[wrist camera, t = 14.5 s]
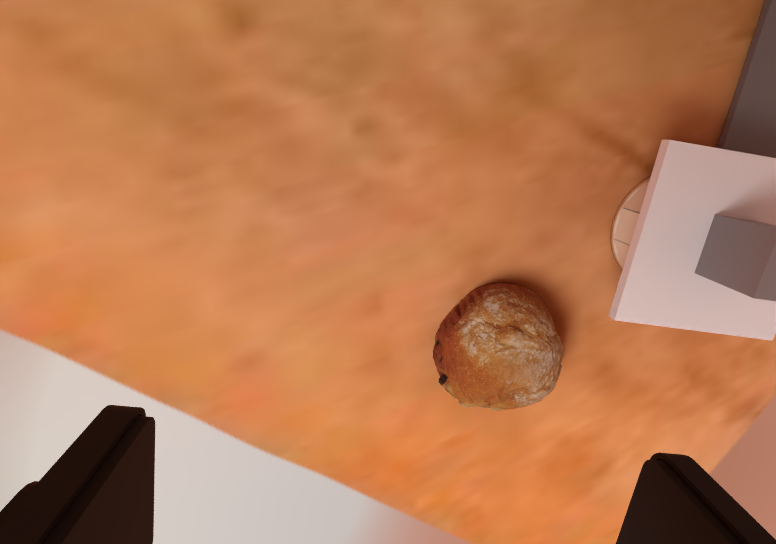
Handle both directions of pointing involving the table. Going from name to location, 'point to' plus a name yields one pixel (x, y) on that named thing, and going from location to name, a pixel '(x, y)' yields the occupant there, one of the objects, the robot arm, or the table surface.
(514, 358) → the bread roll
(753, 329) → the lid
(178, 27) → the table surface
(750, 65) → the mat
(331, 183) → the table surface
